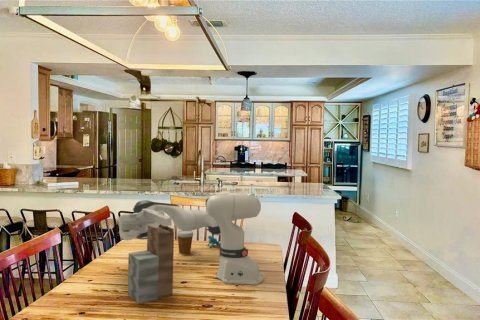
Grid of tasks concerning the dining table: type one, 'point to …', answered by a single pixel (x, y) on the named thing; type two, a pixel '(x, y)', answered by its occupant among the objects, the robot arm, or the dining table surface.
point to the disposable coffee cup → (185, 241)
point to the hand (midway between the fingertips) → (148, 212)
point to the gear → (213, 241)
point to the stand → (152, 266)
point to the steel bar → (157, 217)
